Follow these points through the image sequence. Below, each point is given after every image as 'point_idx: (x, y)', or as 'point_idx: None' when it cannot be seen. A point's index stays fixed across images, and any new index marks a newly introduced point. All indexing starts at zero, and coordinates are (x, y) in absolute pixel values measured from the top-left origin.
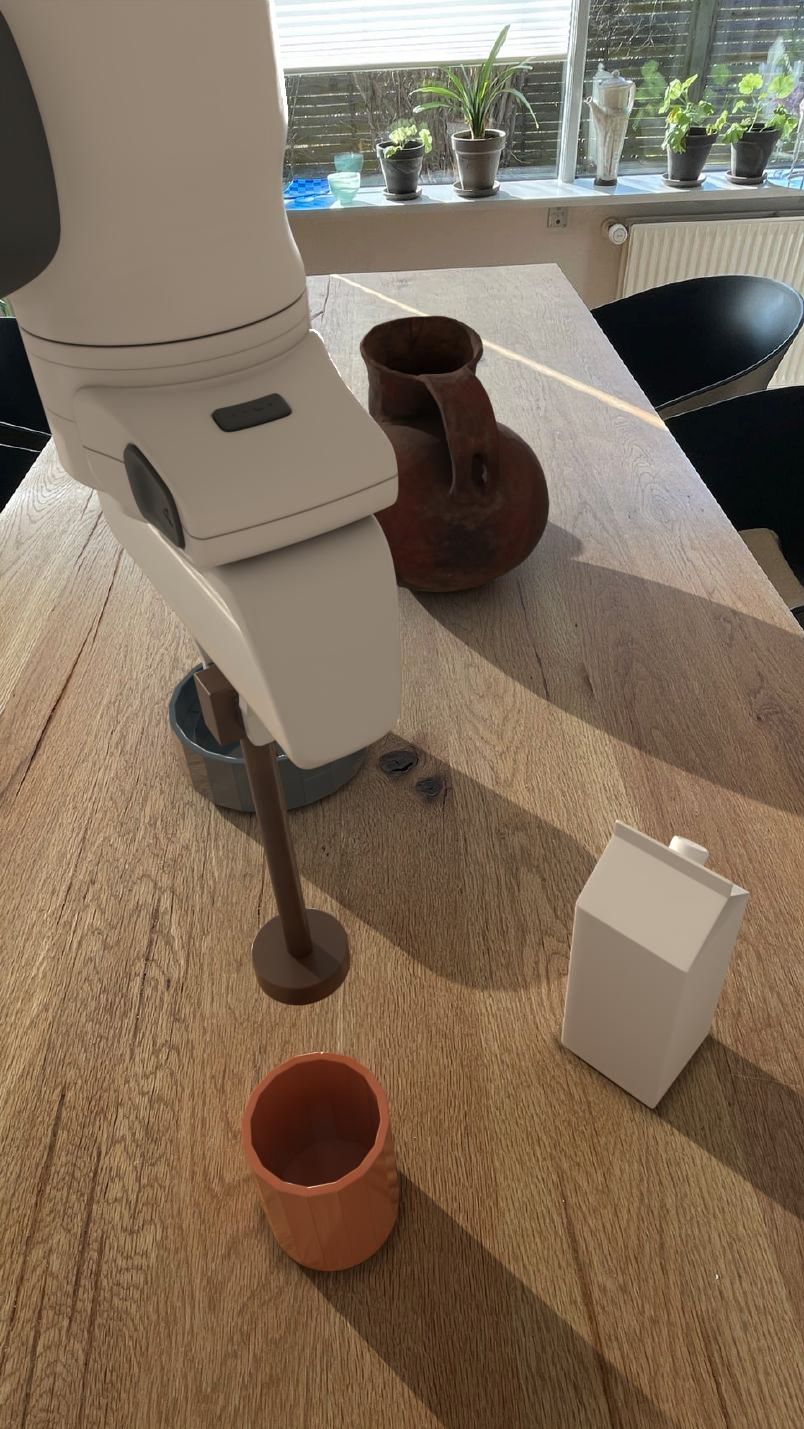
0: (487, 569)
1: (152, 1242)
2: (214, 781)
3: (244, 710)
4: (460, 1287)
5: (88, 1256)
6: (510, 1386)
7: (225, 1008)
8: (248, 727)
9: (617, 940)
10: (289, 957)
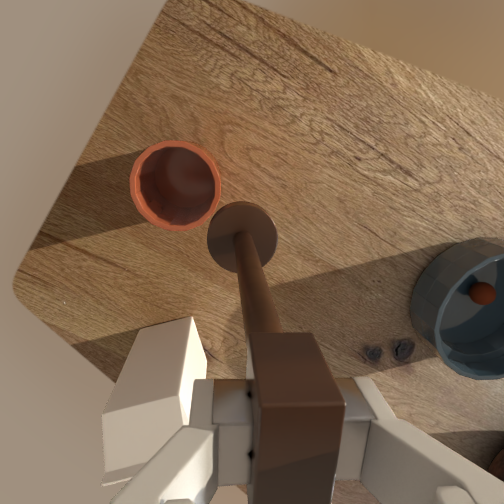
0: None
1: (220, 82)
2: (468, 252)
3: (183, 436)
4: (117, 206)
5: (233, 47)
6: (69, 201)
7: (320, 180)
8: (191, 403)
9: (148, 396)
10: (238, 229)
